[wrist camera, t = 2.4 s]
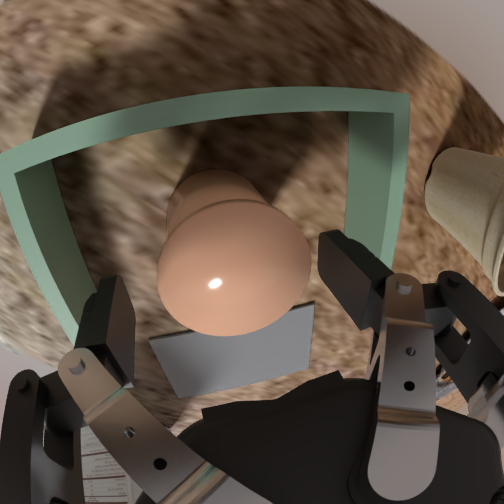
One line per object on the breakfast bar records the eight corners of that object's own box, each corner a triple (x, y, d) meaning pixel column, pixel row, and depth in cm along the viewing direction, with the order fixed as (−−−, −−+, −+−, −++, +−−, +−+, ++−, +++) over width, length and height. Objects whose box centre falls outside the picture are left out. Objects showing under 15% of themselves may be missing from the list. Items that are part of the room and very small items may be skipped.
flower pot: (452, 100, 15) (551, 131, 8) (487, 175, 20) (558, 216, 12) (387, 194, 18) (484, 262, 11) (436, 253, 22) (502, 311, 15)
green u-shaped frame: (362, 88, 14) (409, 94, 10) (351, 277, 21) (380, 311, 17) (30, 140, 11) (-9, 158, 7) (102, 330, 18) (95, 376, 14)
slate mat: (313, 302, 21) (314, 304, 21) (307, 366, 25) (308, 368, 25) (148, 338, 19) (148, 340, 19) (178, 396, 23) (178, 398, 23)
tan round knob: (263, 155, 15) (312, 193, 10) (269, 250, 18) (308, 317, 13) (150, 174, 14) (137, 224, 9) (173, 270, 17) (178, 347, 12)
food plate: (491, 290, 30) (506, 304, 27) (520, 297, 39) (531, 307, 36) (397, 403, 41) (406, 417, 38) (453, 382, 50) (461, 393, 47)
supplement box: (173, 428, 26) (192, 535, 16) (122, 440, 26) (131, 537, 16) (129, 399, 22) (139, 531, 12) (76, 413, 22) (75, 526, 11)
